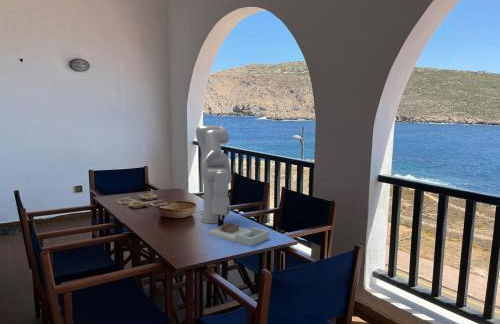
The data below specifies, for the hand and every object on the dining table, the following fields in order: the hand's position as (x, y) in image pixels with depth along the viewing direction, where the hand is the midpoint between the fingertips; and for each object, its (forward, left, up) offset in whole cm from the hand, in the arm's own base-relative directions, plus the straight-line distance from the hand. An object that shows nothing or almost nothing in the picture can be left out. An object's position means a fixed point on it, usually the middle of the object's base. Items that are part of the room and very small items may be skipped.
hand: (220, 225), depth 207 cm
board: (+7, 0, -3) cm, 8 cm away
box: (+21, 0, -3) cm, 22 cm away
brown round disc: (+6, 0, -1) cm, 7 cm away
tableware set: (-85, +11, -4) cm, 85 cm away
